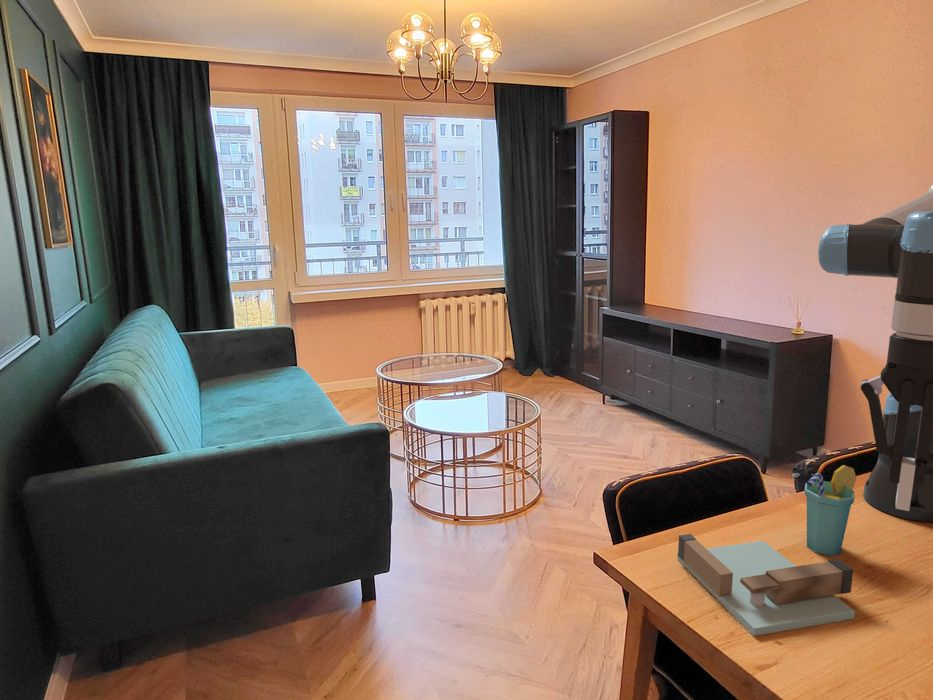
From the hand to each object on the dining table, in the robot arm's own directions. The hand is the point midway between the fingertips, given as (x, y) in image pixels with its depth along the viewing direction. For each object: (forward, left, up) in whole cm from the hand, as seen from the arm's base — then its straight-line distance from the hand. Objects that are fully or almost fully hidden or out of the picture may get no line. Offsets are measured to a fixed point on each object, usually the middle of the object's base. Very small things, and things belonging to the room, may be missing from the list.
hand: (902, 505), depth 85 cm
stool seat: (+12, -11, -17) cm, 24 cm away
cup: (-5, -18, -18) cm, 26 cm away
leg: (+10, -6, -16) cm, 20 cm away
